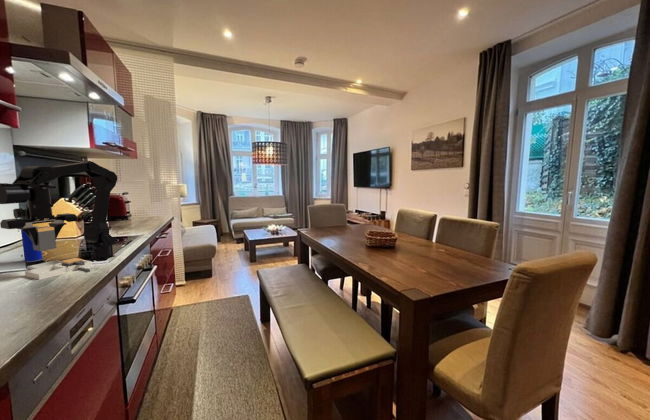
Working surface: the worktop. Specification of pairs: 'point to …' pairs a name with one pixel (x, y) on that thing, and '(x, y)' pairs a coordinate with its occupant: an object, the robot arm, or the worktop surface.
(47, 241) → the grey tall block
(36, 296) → the worktop surface
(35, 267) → the tray
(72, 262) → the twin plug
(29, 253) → the beverage can
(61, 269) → the two-cubby shelf
